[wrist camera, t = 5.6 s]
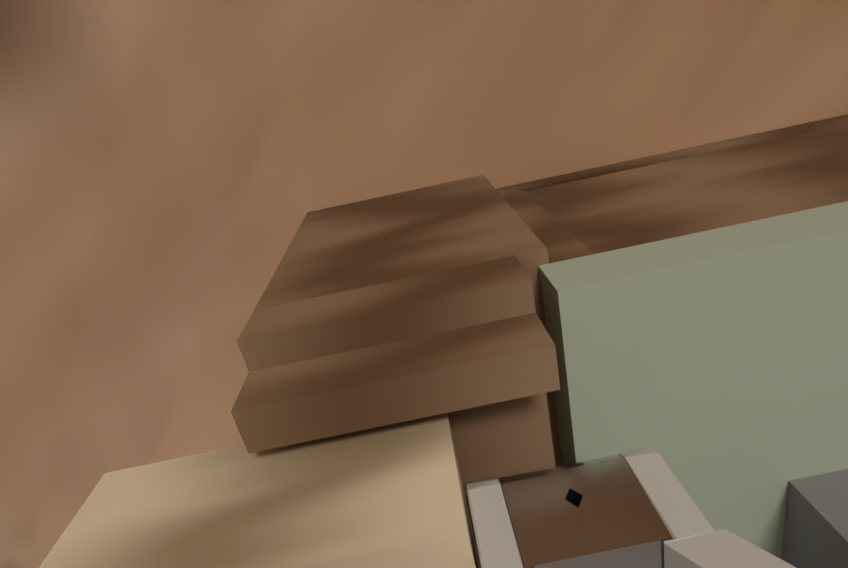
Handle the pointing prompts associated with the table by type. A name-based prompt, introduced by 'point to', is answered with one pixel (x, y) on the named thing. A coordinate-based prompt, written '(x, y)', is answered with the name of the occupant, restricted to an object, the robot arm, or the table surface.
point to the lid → (719, 372)
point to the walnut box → (485, 291)
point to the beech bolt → (284, 507)
